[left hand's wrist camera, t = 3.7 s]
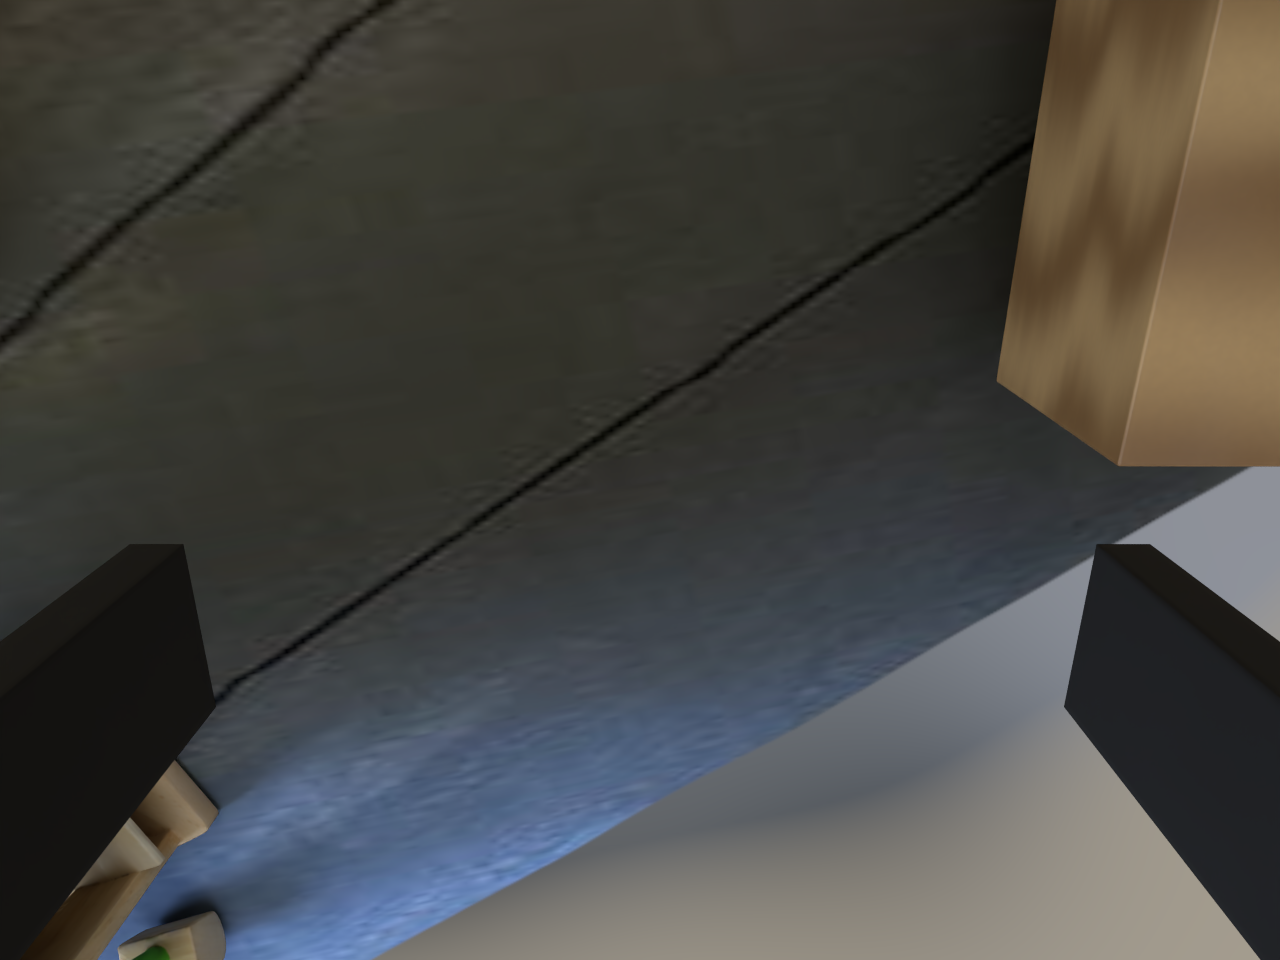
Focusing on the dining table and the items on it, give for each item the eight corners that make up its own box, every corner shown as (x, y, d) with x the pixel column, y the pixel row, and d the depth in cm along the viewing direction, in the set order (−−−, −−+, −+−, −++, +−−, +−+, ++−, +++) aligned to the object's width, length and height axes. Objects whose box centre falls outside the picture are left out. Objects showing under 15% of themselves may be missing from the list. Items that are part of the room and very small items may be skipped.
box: (1171, 381, 38) (1354, 467, 28) (995, 381, 38) (1117, 467, 28) (1367, -453, 28) (1763, -774, 18) (1126, -452, 28) (1389, -771, 18)
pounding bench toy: (305, 905, 56) (161, 1227, 39) (132, 982, 58) (-74, 1317, 41) (64, 630, 49) (-238, 877, 32) (-122, 731, 51) (-495, 1010, 34)
